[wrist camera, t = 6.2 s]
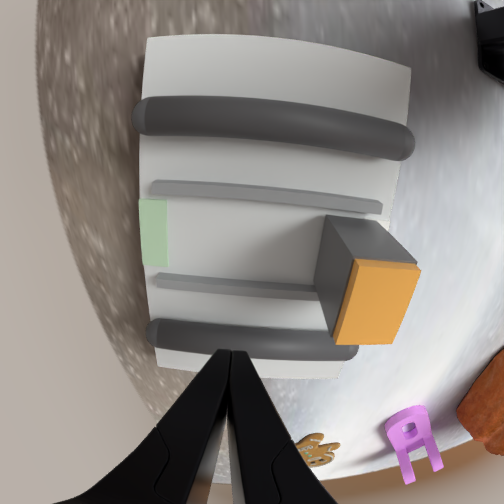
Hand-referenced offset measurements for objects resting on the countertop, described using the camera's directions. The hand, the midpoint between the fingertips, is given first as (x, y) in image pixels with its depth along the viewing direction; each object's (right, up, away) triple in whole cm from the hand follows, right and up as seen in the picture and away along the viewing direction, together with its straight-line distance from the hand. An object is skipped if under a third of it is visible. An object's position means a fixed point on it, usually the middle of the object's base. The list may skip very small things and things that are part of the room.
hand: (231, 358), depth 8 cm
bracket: (+21, -20, +21) cm, 36 cm away
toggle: (+6, +3, +8) cm, 10 cm away
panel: (+1, +5, +10) cm, 11 cm away
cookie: (+8, -22, +23) cm, 33 cm away
